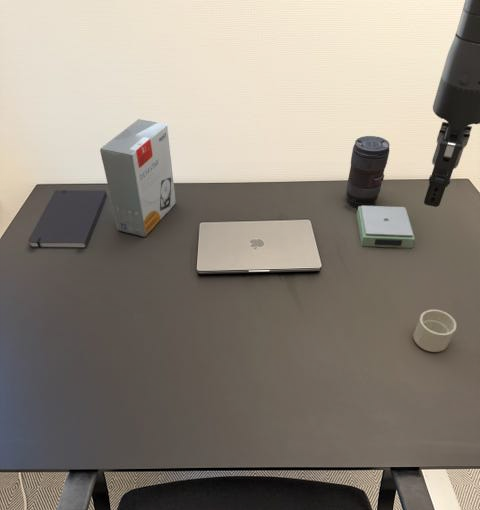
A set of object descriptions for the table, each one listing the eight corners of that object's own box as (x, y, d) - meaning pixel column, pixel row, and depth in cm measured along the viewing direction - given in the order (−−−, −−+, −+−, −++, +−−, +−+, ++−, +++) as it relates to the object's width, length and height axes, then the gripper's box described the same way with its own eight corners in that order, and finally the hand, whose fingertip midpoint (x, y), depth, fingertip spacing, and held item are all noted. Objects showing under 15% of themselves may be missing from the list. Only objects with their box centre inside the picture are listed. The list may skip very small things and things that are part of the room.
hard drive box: (146, 238, 106) (130, 155, 91) (116, 231, 108) (96, 148, 93) (177, 202, 116) (167, 122, 101) (150, 196, 118) (136, 117, 103)
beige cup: (443, 329, 86) (452, 310, 83) (450, 354, 82) (460, 335, 78) (410, 327, 87) (417, 308, 83) (415, 352, 82) (423, 333, 79)
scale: (403, 216, 111) (406, 205, 109) (412, 248, 102) (416, 237, 100) (356, 214, 112) (358, 203, 109) (361, 246, 103) (364, 235, 101)
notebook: (86, 248, 104) (107, 195, 118) (84, 242, 102) (105, 190, 117) (29, 247, 104) (57, 195, 118) (27, 242, 103) (55, 190, 117)
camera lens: (373, 191, 118) (386, 134, 107) (380, 210, 113) (395, 151, 102) (341, 192, 118) (351, 134, 107) (347, 210, 113) (358, 151, 102)
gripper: (501, 102, 54) (455, 221, 65) (508, 62, 63) (466, 173, 74) (434, 92, 56) (401, 209, 68) (449, 54, 65) (418, 163, 76)
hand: (435, 190), depth 71 cm, fingers open, 8 cm apart
